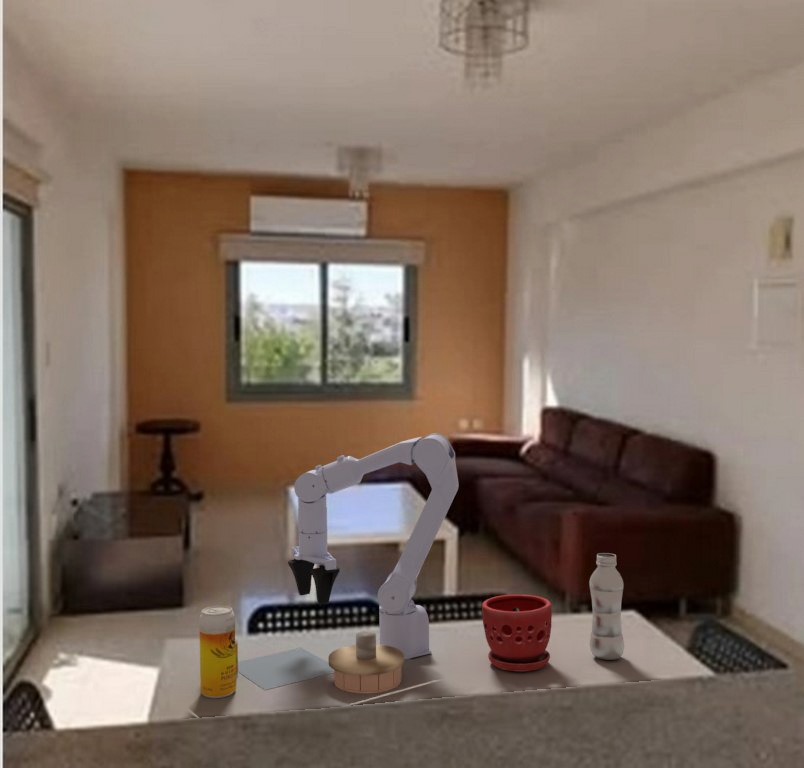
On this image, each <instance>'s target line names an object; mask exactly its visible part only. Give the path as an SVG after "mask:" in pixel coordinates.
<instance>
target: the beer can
mask: <svg viewBox="0 0 804 768" xmlns="http://www.w3.org/2000/svg"><path fill="white" fill-rule="evenodd" d="M235 615H236V614H235V613H234V610H233V608H232V607H231V606H228V605H211V606H207V607H204V608H203V609H201V613H200V615H199V619H198V621H199V622H198V623H199V625H198V627H199V665H200V666H199V668H200V675H199V676H200V677H199V678H200V693H201V694H202V696H204V697H206V698H208V699H222V698H227V697H230V696H232V695H233V694H234V693H235V691H236V690H237V677H236V654H235V636H236V616H235Z"/></svg>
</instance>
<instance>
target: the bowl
mask: <svg viewBox="0 0 804 768" xmlns="http://www.w3.org/2000/svg"><path fill="white" fill-rule="evenodd" d="M333 677H334V680H333V681H334V685H335V687H337V688H338V689H340V690H342V691H345V692H348V693H353V694H354V693H355V694H378V693H383V692H386V691H390V690H394V689H395V688H397V687H398V686H399V685H400V684H401V682H402V666H401V667H400V668H398V669H396V670H394V671H391V672H388V673H383V674H377V675H350V674H345V673H341V672H338V671H335V670H334V673H333Z"/></svg>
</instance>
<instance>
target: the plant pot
mask: <svg viewBox="0 0 804 768" xmlns="http://www.w3.org/2000/svg"><path fill="white" fill-rule="evenodd" d="M514 609H517V610H518V611H513V610H514ZM481 611H482V612H481V613H482V625H483V629H484V636H485V638H486V642H487V644H488V645H487V646H488V647H489V649H490V651H489V652H488V654H487V655H488V657H487V658H488V659H489V662H490V663H491V664H492V665H494V666H495V667H497V668H498V669H501V670H502V671H511V672H529V671H531V672H532V671H535V670H539V669H542V668H543V667H544V666H546V665H547V664H548V662H549V660H550V659H551V654H550V652H549V651H548V650H547V647H548V644H549V641H550V638H551V633H552V632H551V631H552V616H553V615H552V603H551V602H550V600H548V599H546V598H544V597H542V596H537V595H533V594H532V595H531V594H505V595H503V594H502V595H498V596H494V597H490V598H488V599H485V600H484V601H483V602H482V606H481Z"/></svg>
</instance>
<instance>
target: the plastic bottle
mask: <svg viewBox="0 0 804 768" xmlns="http://www.w3.org/2000/svg"><path fill="white" fill-rule="evenodd" d="M595 563H596V565H597V567H596V568H595V570H594V571H593V572H592V574H591V575H590V578H589V583H588V584H589V590H590V597H591V605H592V606H591V607H592V608H591V609H592V611H591V612H592V619H591V620H592V621H591V632H590V637H589V648H590V652H591V654H592V655H593V657H595V658H597V659H601V660H606V661H607V660H609V661H613V660H614V661H615V660H618V659H620V658H621V657H622V656H623V655H624V652H625V651H624V650H625V641H624V636H623V630H622V619H621V616H622V614H621V613H622V612H621V611H622V599H623V592H624V580H623V578H622V577H623V576H621V573H620V572H619V571H618V569H617V568H616V566H618V565H617V555H616V554H614V553H609V552H607V553H606V552H601V553H600V552H599V553H597V554H596V561H595Z"/></svg>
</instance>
